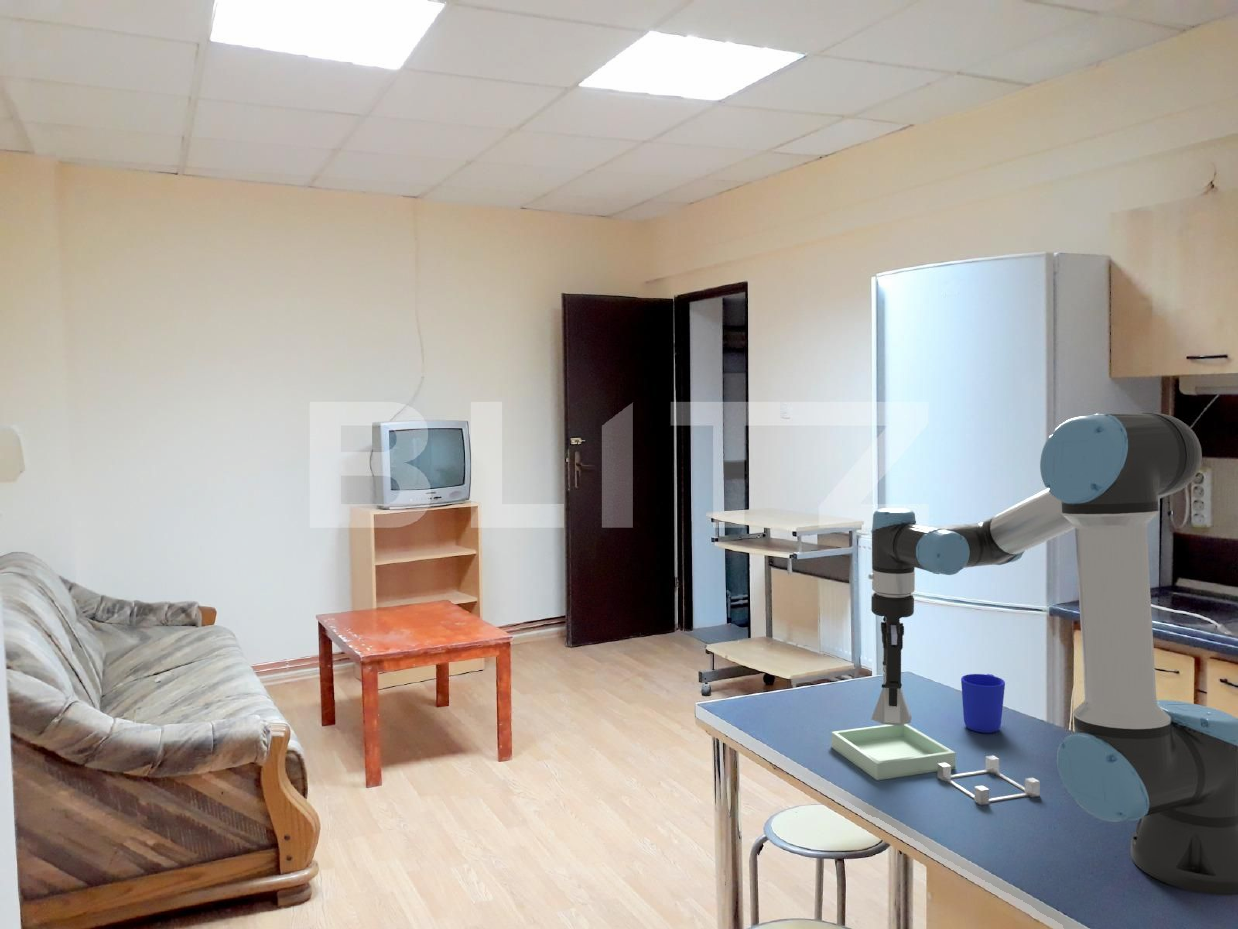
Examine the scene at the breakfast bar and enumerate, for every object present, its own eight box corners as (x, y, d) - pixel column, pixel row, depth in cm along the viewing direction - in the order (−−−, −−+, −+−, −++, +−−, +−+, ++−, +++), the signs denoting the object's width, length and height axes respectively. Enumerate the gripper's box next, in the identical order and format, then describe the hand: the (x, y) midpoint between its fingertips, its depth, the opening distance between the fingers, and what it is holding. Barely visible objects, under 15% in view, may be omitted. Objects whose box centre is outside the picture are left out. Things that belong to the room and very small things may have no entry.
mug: (1010, 720, 189) (1011, 672, 188) (1000, 739, 179) (1000, 689, 178) (969, 713, 193) (969, 666, 192) (956, 731, 183) (957, 682, 182)
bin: (955, 768, 165) (955, 752, 165) (877, 780, 160) (877, 763, 160) (903, 737, 180) (904, 722, 180) (831, 747, 176) (831, 732, 175)
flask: (918, 719, 170) (919, 666, 169) (901, 730, 165) (902, 675, 164) (881, 710, 175) (882, 659, 174) (864, 720, 170) (864, 668, 169)
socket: (1039, 795, 153) (1039, 781, 153) (980, 805, 150) (980, 790, 150) (992, 769, 164) (993, 755, 164) (937, 777, 161) (937, 763, 161)
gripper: (870, 581, 178) (868, 696, 180) (873, 604, 159) (871, 732, 161) (910, 582, 176) (908, 698, 178) (918, 606, 157) (916, 736, 159)
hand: (891, 714), depth 170 cm, fingers closed on flask, 7 cm apart
